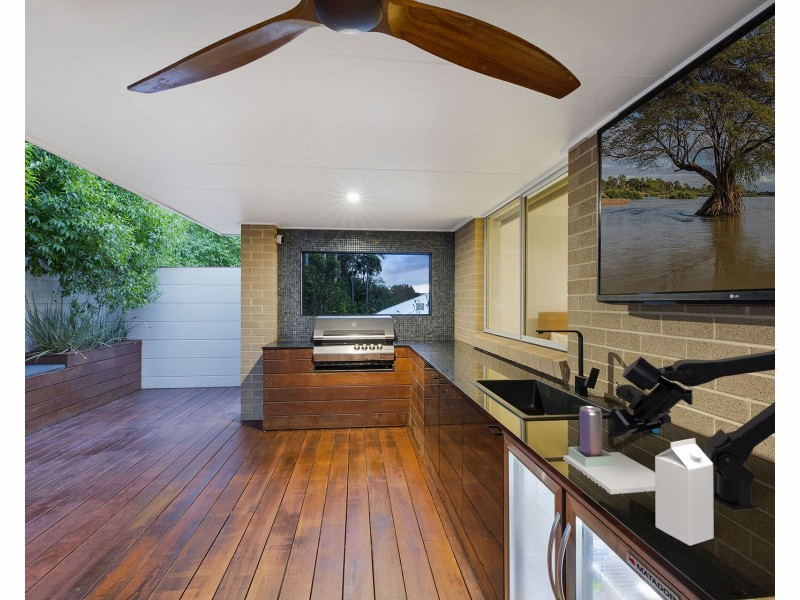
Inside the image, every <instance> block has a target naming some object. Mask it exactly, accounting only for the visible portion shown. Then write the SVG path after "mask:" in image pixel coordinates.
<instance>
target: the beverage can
mask: <svg viewBox="0 0 800 600" xmlns="http://www.w3.org/2000/svg"><path fill="white" fill-rule="evenodd" d="M578 415H579V425H578V426H579V446H580V454H582V455H583V456H585V457H600V456H603V455H602V449H603V412H602V409H601V408H600V407H597V406H592V405H591V406H590V405H581V406H580V407H579V413H578Z"/></svg>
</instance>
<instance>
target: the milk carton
mask: <svg viewBox="0 0 800 600" xmlns="http://www.w3.org/2000/svg"><path fill="white" fill-rule="evenodd" d="M696 442H697V441H696V437H694V438H688V439H682V440H678V441H677V440H676V441H672V442H670V448H668V449H666V450H664V451H663V452H660V453H659V454H656V455H655V456H654V458H655V459H654V467H655V470H654V472H655V491H654V492H655V493H654V494H655V496H654V497H655V498H654V499H655V503H654V504H655V506H654V508H655V528H657V529H659V530H660V531H662V532H664V533H665V534H667V535H669V536H672V537H673V538H675V539H676V540H678V541H680V542H682V543H684V544H685V545H687V546H689V547H690V546H693V545H697V544H700V543H703V542H706V541H709V540H713V539H714V538H715V537H714V536H715V535H714V532H715V531H714V529H715V528H714V527H715V526H714V521H715V519H714V518H715V517H714V498H713V493H714V465H713V463H712V462H711V461H710V459H709V458H708V457H707V456H706V454H705V452H704V450H702V449H701V448H700V446H699V445H698V444H697V443H696Z"/></svg>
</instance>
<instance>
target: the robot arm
mask: <svg viewBox="0 0 800 600" xmlns="http://www.w3.org/2000/svg"><path fill="white" fill-rule="evenodd" d="M775 350H776V349H773V350H770V351H765V352H758V353H751V354H744V355H738V356H732V357H724V358H719V359H695V358H694V359H678V360H676V361H675V362H674V363H672V364H671V365H667V366H663V367H659V368H657V367H656V366H654V365H653V364H651V363H650V362H648V361H647V360H646V359H645V358H644V357H642V356H639V357H638V358H637V359H635V361H633V362H632V363H631V364H629V365H628V366H627V368H626V369H625V370H624V372H623V374H622V376H621V377H622V378H623V379H625V380H627V381H628V382H630V383H631V384H629V383H628V384H621V385H618V388H615V396H616V397H618V398H620V399H621V400H623V401H624V402H626V403H628V405H627V406H628V408H629V409H630V410H632V413H633V414H631V413H630V412H629V411H628V409H627V408H626V407H616V408H612V409H611V410H610V411H609V412H608V416H609V418H610V419H611V420H612V424H611V427H610V429H609V432H608V433H607V437H608V438H609V440H610V439H611V440H612V439H615V438H619V437H622V436H627V435H636V434H641V433H644V432H649V431H652V430H654V429H661V428H663V427H667V426H668V425H669V424H670V423H672V417H671V416H670V415H669V414H670V413H672V412H671V410H672V408H673V407H675V406H676V405H678V404H679V402H681V401H683V402H685V403H686V404H688V406H692V405H693V400H694V396H693V390H692V389H687V388H688V387H689V388H690V387H691V388H692V387H697V386H701V385H704V384H707V383H710V382H713V381H714V380H717V379H720V378H724V377H731V376H738V375H745V374H752V373H753V374H754V373H759V372H760V373H761V372H767V371H774V370H775ZM676 382H678V383H676ZM679 384H681V385H679ZM682 385H683V387H682ZM684 386H685V387H687V388H685V387H684ZM646 390H647V391H649V392H648V393H645V392H644V391H646ZM775 433H776V432H775V401H774V402H771V404H770V405H769V406H767V407H766V408H764V409H763V410H761V411H760V412H758V413H757V414H756V415H754V416H753V417H752V418H751V419H749V420H748V421H747V422H745V423H744V424H742V425H741V426H740V427H738V428H737V429H735V430H734V431H730V432H725V431H724V430H723V429H721V428H719V429H718V430H717V431H716V432H715V433H714V434H713V435H712V436H710V437H707V438H705V439H706V440H707V441H706V442H705V444H704V448H703V449H704V450H703V453H704V454H705V455H706V456H707V457H708V458H709V459H710V461H711V462H712V463H713V467H715V468H716V469H715V470H714V474H713V499H716V500H717V501H719V502H721V503H723V504H725V505H726V506H728V507H730V508H733V509H741V508H743V509H744V508H751V507H753V508H754V507H755V508H756V507H758V503H756V502H754V501H752V483H753V481H754V479H755V477H756V476H755V474H754V473H753V472H752V471H751V470H750V469H749V468H748V467H747V465H745V463H746V462H747V461H748V460H749V458H750V456H751V455H752V453H753V450H754V449H755V448H756V447H757V446H758V445H760V444H761V443H762V442H764V441H765V440H767V439H768V438H769V437H770V436H772V435H773V434H775Z"/></svg>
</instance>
